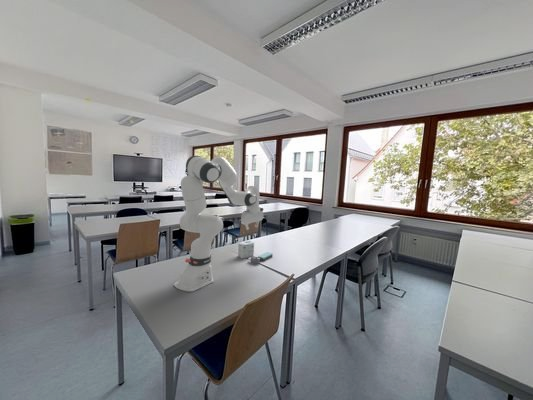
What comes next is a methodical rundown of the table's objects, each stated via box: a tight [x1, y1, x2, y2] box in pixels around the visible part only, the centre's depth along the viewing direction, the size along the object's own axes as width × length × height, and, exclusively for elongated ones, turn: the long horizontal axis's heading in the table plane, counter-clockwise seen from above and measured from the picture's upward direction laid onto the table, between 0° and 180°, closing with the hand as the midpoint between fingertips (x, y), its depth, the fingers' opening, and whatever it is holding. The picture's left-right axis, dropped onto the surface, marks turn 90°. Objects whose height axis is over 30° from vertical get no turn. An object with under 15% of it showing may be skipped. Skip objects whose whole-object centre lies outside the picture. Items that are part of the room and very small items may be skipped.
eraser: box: [257, 251, 274, 262], centre depth 169 cm, size 12×5×3 cm, turn 146°
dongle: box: [247, 256, 261, 265], centre depth 160 cm, size 8×4×4 cm, turn 64°
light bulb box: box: [237, 240, 255, 259], centre depth 172 cm, size 11×7×11 cm, turn 130°
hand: (252, 228), depth 157 cm, fingers open, 8 cm apart
